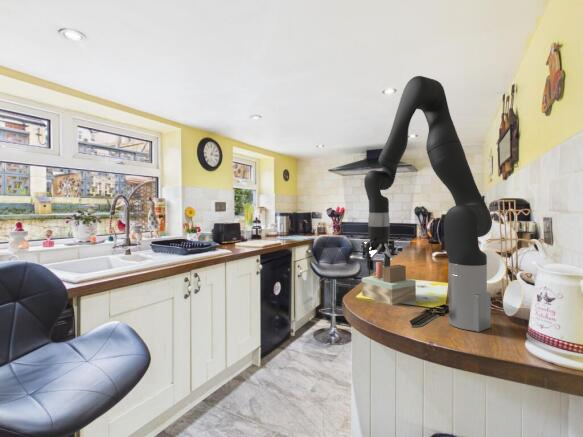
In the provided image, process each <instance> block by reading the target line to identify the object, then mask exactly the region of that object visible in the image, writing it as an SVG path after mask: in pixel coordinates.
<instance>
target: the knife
mask: <svg viewBox="0 0 583 437" xmlns="http://www.w3.org/2000/svg"><path fill="white" fill-rule="evenodd" d="M432 310H435V311H434V312H433V311H432ZM446 314H449V304H445V303H444V304H441V305H437V306H433V307H430V308H429V309H427V308H425V309H424V310H423V312H422V313H421V314H419V315H418V316H417V315H416V316H415V317H414V318H412V319H410V320H409V323H410V325H411V326H410V327H411V328H416V327H417V328H418V327H423V326H424V325H426V324H428V323H429V322H431V321H433V320H434V319H436V318H439V317H441V316H442V317H445V316H446Z"/></svg>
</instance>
